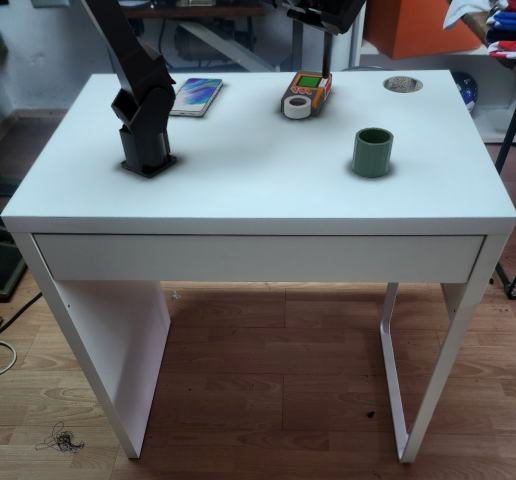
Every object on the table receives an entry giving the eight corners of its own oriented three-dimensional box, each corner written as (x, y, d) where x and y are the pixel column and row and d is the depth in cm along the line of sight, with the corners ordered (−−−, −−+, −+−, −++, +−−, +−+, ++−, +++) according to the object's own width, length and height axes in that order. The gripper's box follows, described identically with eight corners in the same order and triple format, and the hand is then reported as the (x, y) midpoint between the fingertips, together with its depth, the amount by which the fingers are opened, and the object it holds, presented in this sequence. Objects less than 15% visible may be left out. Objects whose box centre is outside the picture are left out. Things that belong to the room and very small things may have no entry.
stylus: (330, 80, 86) (338, -18, 76) (322, 81, 86) (328, -17, 76) (328, 77, 87) (335, -21, 77) (320, 77, 87) (326, -20, 77)
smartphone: (163, 110, 90) (188, 77, 99) (164, 115, 90) (189, 82, 100) (201, 112, 88) (223, 78, 98) (202, 117, 89) (224, 83, 99)
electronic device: (276, 104, 86) (298, 67, 95) (276, 121, 89) (298, 83, 98) (315, 108, 85) (333, 70, 94) (314, 125, 87) (332, 86, 96)
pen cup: (377, 181, 74) (382, 148, 70) (345, 170, 76) (348, 138, 72) (394, 165, 76) (400, 133, 73) (362, 155, 79) (367, 124, 75)
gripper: (368, -92, 63) (409, -6, 75) (272, -107, 73) (322, -28, 85) (318, -5, 65) (365, 65, 78) (232, -30, 75) (286, 35, 88)
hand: (334, 31), depth 82 cm, fingers closed on stylus, 1 cm apart
